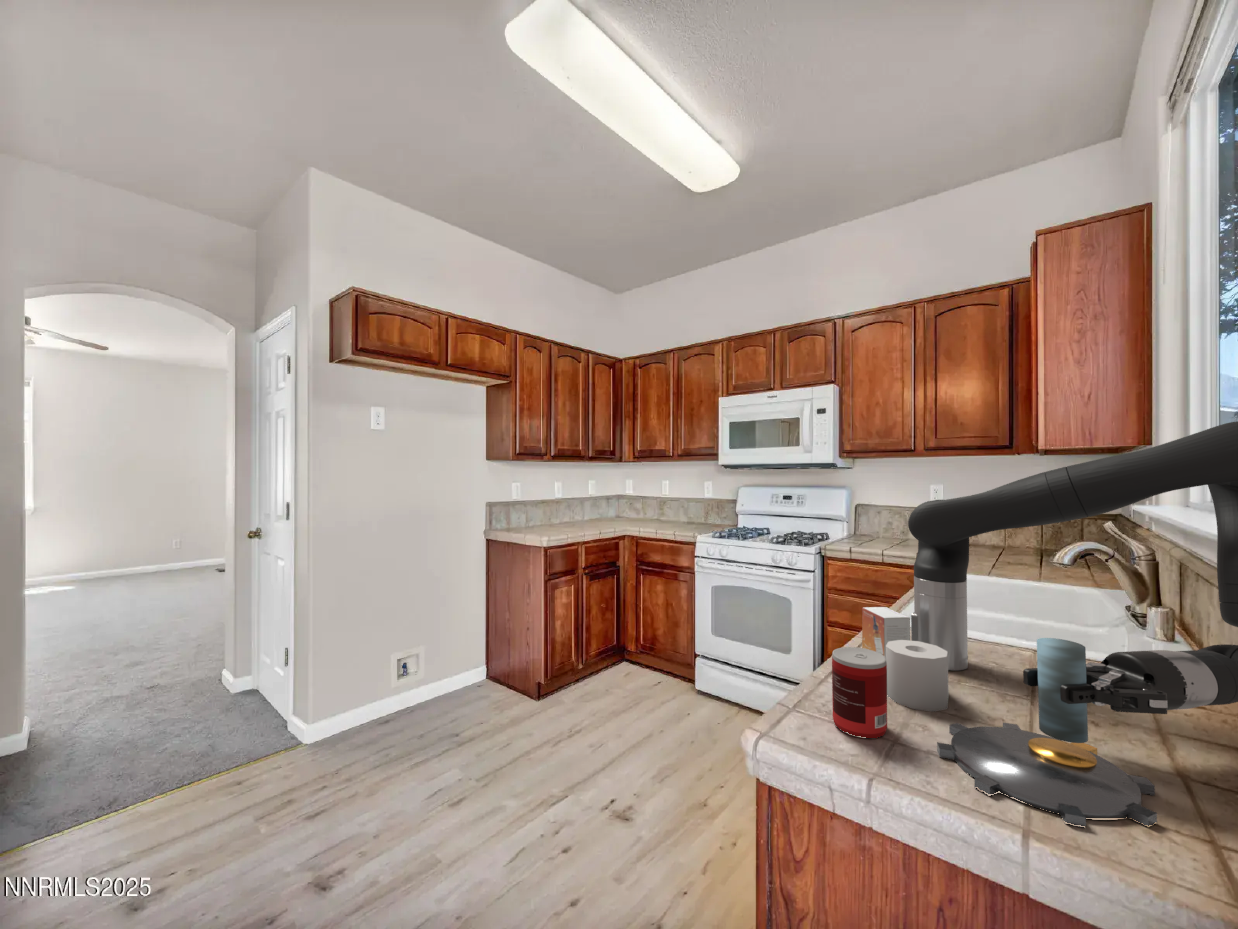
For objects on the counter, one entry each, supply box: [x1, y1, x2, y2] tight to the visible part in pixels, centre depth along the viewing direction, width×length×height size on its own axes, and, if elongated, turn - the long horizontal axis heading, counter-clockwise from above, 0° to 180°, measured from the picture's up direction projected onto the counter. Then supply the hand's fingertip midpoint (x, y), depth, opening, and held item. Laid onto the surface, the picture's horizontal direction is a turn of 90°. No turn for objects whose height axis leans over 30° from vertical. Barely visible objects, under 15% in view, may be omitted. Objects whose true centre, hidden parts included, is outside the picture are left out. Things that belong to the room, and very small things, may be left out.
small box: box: [861, 606, 911, 658], centre depth 106 cm, size 8×6×10 cm
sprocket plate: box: [936, 722, 1158, 827], centre depth 67 cm, size 21×22×2 cm
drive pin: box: [1036, 637, 1089, 744], centre depth 70 cm, size 5×5×12 cm
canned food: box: [831, 646, 888, 739], centre depth 79 cm, size 8×8×11 cm
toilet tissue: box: [886, 640, 950, 712], centre depth 91 cm, size 9×13×9 cm
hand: (1044, 685), depth 69 cm, fingers closed on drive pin, 5 cm apart
